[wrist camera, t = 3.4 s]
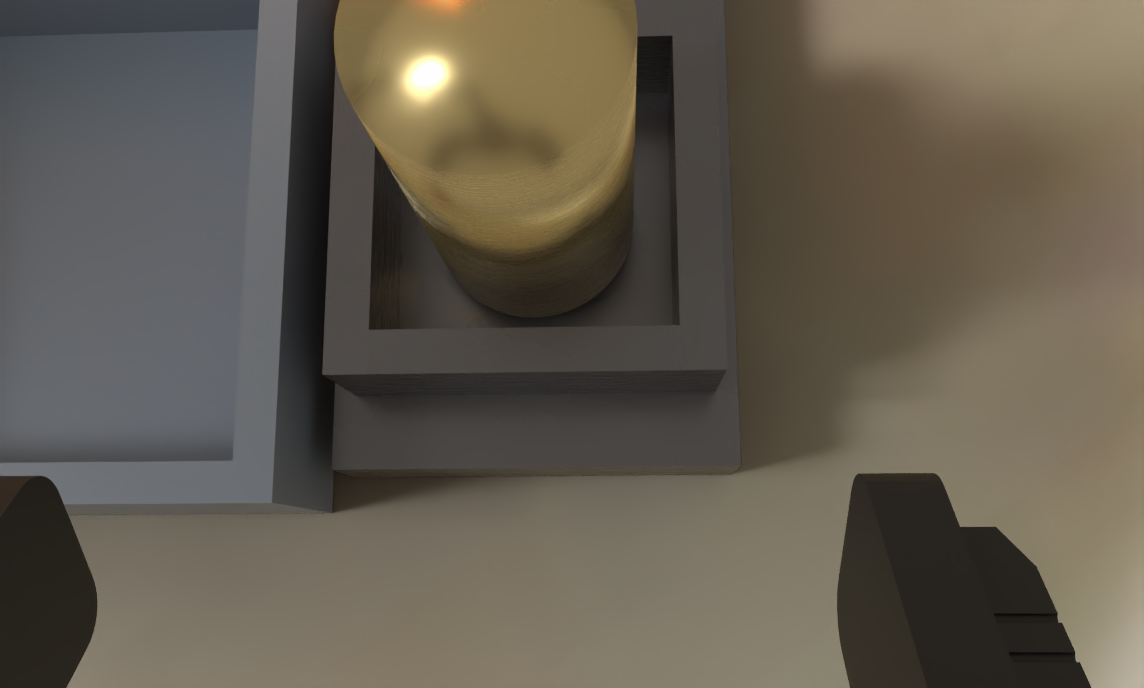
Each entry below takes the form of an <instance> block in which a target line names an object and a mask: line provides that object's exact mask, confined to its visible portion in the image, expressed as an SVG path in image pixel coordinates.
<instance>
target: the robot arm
mask: <svg viewBox="0 0 1144 688" xmlns="http://www.w3.org/2000/svg"><path fill="white" fill-rule="evenodd" d="M837 614H838V628H839V637H840V643H841V649H842V653H843V658H844V662H845V667H846V671H847V676H848V680H849V685H850V688H1091V686H1090V684H1089V681H1088V679H1087V677H1086V675H1085V673H1084V670H1083V668H1082V666H1081V664H1080V662H1076V660H1075V651H1074V648H1073V646H1072V644H1071V642H1070V640H1069V637H1068V635H1067V633H1066V631H1065V629H1064V626H1063V624H1062V623H1059V622H1058V619H1057V614H1058V613H1057V611H1056V609H1055V607H1054V604H1053V602H1052V600H1051V598H1050V596H1049V593H1048V591H1047V589H1046V587H1045V585H1044V582H1043V580H1042V578H1041V576H1040V574H1039V571H1038V569H1037V567H1036V566H1035V565H1034V564H1033V563H1032V562H1031V561H1030V560H1029V559H1028V558H1027V557H1026V556H1025V555H1024V554H1023V553H1022V552H1021V551H1020V550H1019V549H1018V548H1017V547H1016V546H1015V545H1014V544H1013V543H1012V542H1011V541H1010V540H1009V539H1008V538H1007V537H1006V536H1005V535H1003V534H1002V533H1001V532H1000V531H999V530H998V529H997V528H996V527H960V526H959V524H958V521H957V518H956V516H955V513H954V511H953V508H952V506H951V503H950V500H949V498H948V495H947V493H946V490H945V488H944V485H943V483H942V481H941V479H940V478H939V476H938V475H936V474H934V473H883V474H857V475H856V477H855V479H854V482H853V485H852V491H851V497H850V504H849V511H848V518H847V525H846V532H845V539H844V546H843V553H842V560H841V567H840V574H839V581H838V592H837ZM96 616H97V592H96V587H95V583H94V580H93V577H92V574H91V572H90V569H89V567H88V564H87V562H86V559H85V557H84V554H83V552H82V549H81V547H80V544H79V541H78V539H77V536H76V534H75V531H74V529H73V526H72V524H71V521H70V519H69V516H68V514H67V511H66V509H65V506H64V503H63V501H62V498H61V496H60V493H59V491H58V489H57V487H56V486H55V484H54V483H53V482H52V481H51V480H50V479H49V478H47V477H45V476H0V688H66V687H67V685H68V683H69V682H70V680H71V678H72V676H73V674H74V672H75V670H76V668H77V666H78V664H79V662H80V660H81V659H82V657H83V655H84V653H85V651H86V649H87V647H88V645H89V643H90V640H91V637H92V634H93V631H94V627H95V622H96Z"/></svg>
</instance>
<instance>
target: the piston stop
mask: <svg viewBox="0 0 1144 688" xmlns="http://www.w3.org/2000/svg"><path fill="white" fill-rule="evenodd" d="M637 26H638V25H637V14H636V5H635V1H634V0H340V2H339V6H338V10H337V13H336V19H335V28H334V54H335V60H336V65H337V71H338V74H339V77H340V80H341V83H342V86H343V89H344V91H345V93H346V95H347V97H348V99H349V101H350V103H351V105H352V107H353V108H354V110H355V112H356V113H357V115H358V117H359V119H360V120H361V122H362V124H363V125H364V127H365V129H366V130H367V132H368V134H369V135H370V137H371V139H372V140H373V142H374V144H375V146H376V147H377V149H378V151H379V152H380V154H381V156H382V157H383V159H384V161H385V162H386V164H387V166H388V167H389V169H390V171H391V172H392V174H393V176H394V178H395V179H396V181H397V183H398V184H399V186H400V188H401V189H402V191H403V193H404V194H405V196H406V198H407V199H408V201H409V203H410V205H411V206H412V208H413V210H414V211H415V213H416V215H417V216H418V218H419V220H420V221H421V223H422V225H423V226H424V228H425V230H426V232H427V233H428V235H429V237H430V238H431V240H432V242H433V243H434V245H435V247H436V248H437V250H438V252H439V253H440V255H441V257H442V259H443V260H444V262H445V264H446V265H447V267H448V269H449V270H450V272H451V273H452V275H453V276H454V278H455V279H456V281H457V282H458V283H459V284H460V285H461V286H462V288H463V289H464V290H465V291H466V292H467V293H469V294H470V295H471V296H472V297H473V298H475V299H476V300H478V301H479V302H481V303H482V304H484V305H485V306H488V307H490V308H492V309H494V310H496V311H499V312H502V313H505V314H508V315H513V316H519V317H532V318H537V317H548V316H553V315H558V314H562V313H565V312H568V311H570V310H573V309H575V308H577V307H579V306H581V305H583V304H585V303H587V302H588V301H590V300H591V299H593V298H594V297H596V296H597V295H598V294H599V293H600V292H601V291H602V290H604V289H605V288H606V287H607V285H608V284H609V283H610V282H611V281H612V280H613V279H614V277H615V276H616V274H617V273H618V271H619V270H620V268H621V266H622V264H623V262H624V260H625V258H626V256H627V253H628V250H629V247H630V243H631V238H632V233H633V205H634V160H635V115H636V71H637Z"/></svg>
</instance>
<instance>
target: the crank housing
mask: <svg viewBox="0 0 1144 688" xmlns="http://www.w3.org/2000/svg"><path fill="white" fill-rule="evenodd" d="M634 1H635V5H636V14H637V25H638V26H637V71H636V115H635V160H634V205H633V233H632V238H631V243H630V247H629V250H628V253H627V256H626V258H625V260H624V262H623V264H622V266H621V268H620V270H619V271H618V273H617V274H616V276H615V277H614V279H613V280H612V281H611V282H610V283H609V284H608V285H607V287H606V288H605V289H604V290H602V291H601V292H600V293H599V294H598V295H597V296H596V297H594V298H593V299H591V300H590V301H588V302H587V303H585V304H583V305H581V306H579V307H577V308H575V309H573V310H570V311H568V312H565V313H562V314H558V315H553V316H548V317H537V318H532V317H519V316H513V315H508V314H505V313H502V312H499V311H496V310H494V309H492V308H490V307H488V306H485V305H484V304H482V303H481V302H479V301H478V300H476V299H475V298H473V297H472V296H471V295H470V294H469V293H467V292H466V291H465V290H464V289H463V288H462V286H461V285H460V284H459V283H458V282H457V281H456V279H455V278H454V276H453V275H452V273H451V272H450V270H449V269H448V267H447V265H446V264H445V262H444V260H443V259H442V257H441V255H440V253H439V252H438V250H437V248H436V247H435V245H434V243H433V242H432V240H431V238H430V237H429V235H428V233H427V232H426V230H425V228H424V226H423V225H422V223H421V221H420V220H419V218H418V216H417V215H416V213H415V211H414V210H413V208H412V206H411V205H410V203H409V201H408V199H407V198H406V196H405V194H404V193H403V191H402V189H401V188H400V186H399V184H398V183H397V181H396V179H395V178H394V176H393V174H392V172H391V171H390V169H389V167H388V166H387V164H386V162H385V161H384V159H383V157H382V156H381V154H380V152H379V151H378V149H377V147H376V146H375V144H374V142H373V140H372V139H371V137H370V135H369V134H368V132H367V130H366V129H365V127H364V125H363V124H362V122H361V120H360V119H359V117H358V115H357V113H356V112H355V110H354V108H353V107H352V105H351V103H350V101H349V99H348V97H347V95H346V93H345V91H344V89H343V86H342V83H341V80H340V77H339V74H338V71H337V65H335V88H334V112H333V135H332V158H331V182H330V205H329V229H328V252H327V276H326V299H325V323H324V346H323V370H322V375H323V376H325V377H327V378H328V379H330V380H331V381H333V382H335V399H334V423H333V448H332V470H334V471H337V472H341V473H344V474H347V475H350V476H353V477H356V478H366V477H482V476H598V475H714V474H732V473H733V472H734V471H736V470H737V469H738V468H739V467H740V466H741V451H740V423H739V396H738V368H737V341H736V314H735V286H734V259H733V231H732V204H731V176H730V149H729V122H728V94H727V67H726V39H725V12H724V0H634Z"/></svg>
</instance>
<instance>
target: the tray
mask: <svg viewBox="0 0 1144 688" xmlns="http://www.w3.org/2000/svg"><path fill="white" fill-rule="evenodd" d="M339 2H340V0H0V476H45V477H47V478H49V479H50V480H51V481H52V482H53V483H54V484H55V486H56V487H57V489H58V491H59V493H60V496H61V498H62V501H63V503H64V506H65V509H66V511H67V514H68V515H127V514H268V513H332V504H333V478H334V470H332V448H333V423H334V399H335V382H333V381H331V380H330V379H328V378H327V377H325V376H323V375H322V370H323V346H324V323H325V299H326V276H327V252H328V229H329V205H330V182H331V158H332V135H333V112H334V88H335V65H336V60H335V54H334V28H335V19H336V13H337V10H338V6H339Z"/></svg>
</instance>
